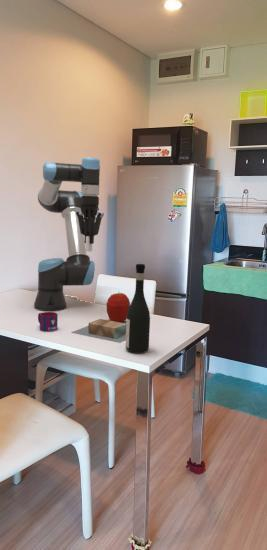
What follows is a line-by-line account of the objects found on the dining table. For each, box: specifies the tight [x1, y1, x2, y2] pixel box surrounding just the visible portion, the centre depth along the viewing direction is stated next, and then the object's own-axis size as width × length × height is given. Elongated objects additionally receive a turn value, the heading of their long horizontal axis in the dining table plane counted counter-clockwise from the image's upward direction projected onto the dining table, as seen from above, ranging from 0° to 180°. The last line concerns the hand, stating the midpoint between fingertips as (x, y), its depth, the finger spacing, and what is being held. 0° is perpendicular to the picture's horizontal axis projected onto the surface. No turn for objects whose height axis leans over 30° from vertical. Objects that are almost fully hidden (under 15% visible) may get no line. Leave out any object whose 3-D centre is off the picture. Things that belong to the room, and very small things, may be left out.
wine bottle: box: [125, 263, 151, 354], centre depth 146 cm, size 8×8×30 cm
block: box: [87, 318, 126, 339], centre depth 164 cm, size 4×8×12 cm
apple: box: [105, 292, 131, 323], centre depth 182 cm, size 10×10×14 cm
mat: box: [71, 325, 126, 344], centre depth 165 cm, size 22×14×1 cm, turn 61°
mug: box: [37, 311, 59, 333], centre depth 168 cm, size 7×10×7 cm
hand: (88, 251), depth 185 cm, fingers closed
